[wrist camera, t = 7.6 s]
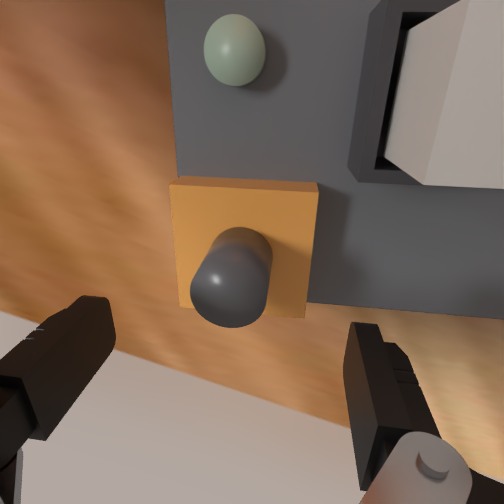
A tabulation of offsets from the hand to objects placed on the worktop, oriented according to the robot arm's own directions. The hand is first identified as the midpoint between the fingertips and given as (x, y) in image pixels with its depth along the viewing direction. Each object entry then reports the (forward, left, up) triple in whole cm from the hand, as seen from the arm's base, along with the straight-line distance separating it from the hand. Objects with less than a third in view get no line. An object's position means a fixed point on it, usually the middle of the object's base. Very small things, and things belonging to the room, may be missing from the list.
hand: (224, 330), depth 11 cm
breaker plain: (+7, +7, -5) cm, 11 cm away
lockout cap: (0, 0, -7) cm, 7 cm away
